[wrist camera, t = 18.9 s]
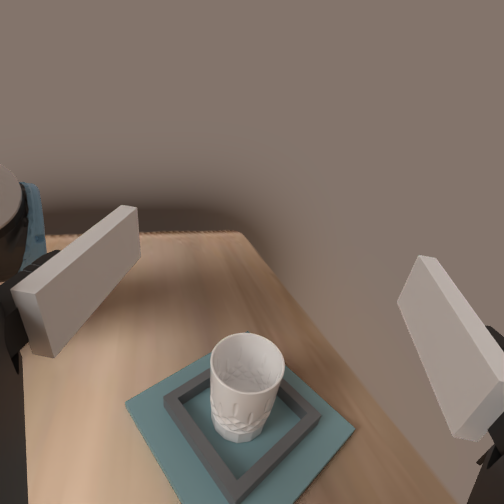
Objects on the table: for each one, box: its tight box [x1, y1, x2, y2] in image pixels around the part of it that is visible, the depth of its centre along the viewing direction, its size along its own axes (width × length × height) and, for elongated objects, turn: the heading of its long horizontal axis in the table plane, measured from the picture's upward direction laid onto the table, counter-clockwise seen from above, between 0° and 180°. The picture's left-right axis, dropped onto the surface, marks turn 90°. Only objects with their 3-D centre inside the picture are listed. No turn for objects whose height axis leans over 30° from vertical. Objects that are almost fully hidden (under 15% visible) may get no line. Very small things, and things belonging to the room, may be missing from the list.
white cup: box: [210, 333, 285, 443], centre depth 36 cm, size 8×8×10 cm
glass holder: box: [125, 331, 355, 504], centre depth 38 cm, size 20×20×3 cm
